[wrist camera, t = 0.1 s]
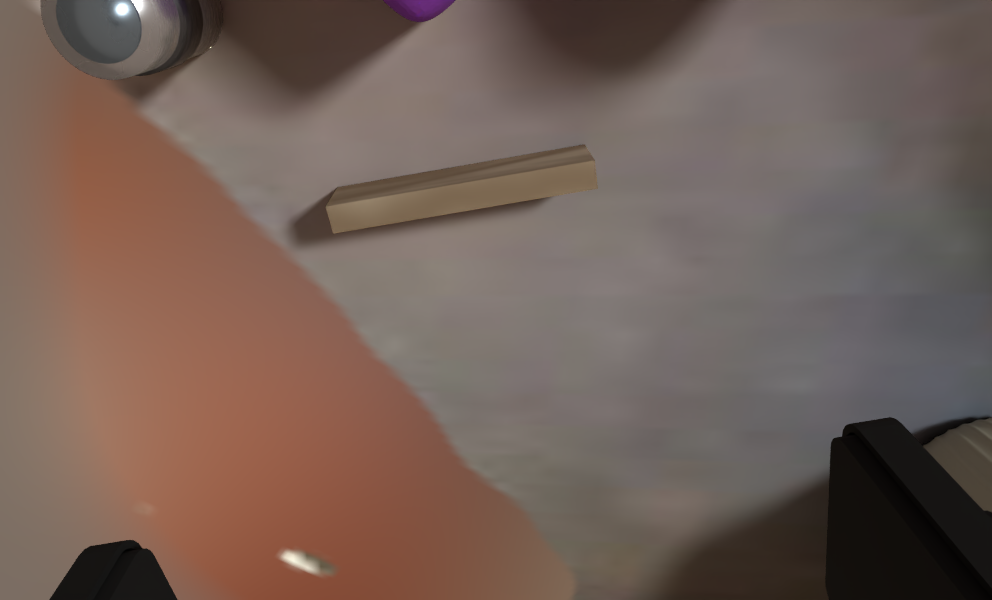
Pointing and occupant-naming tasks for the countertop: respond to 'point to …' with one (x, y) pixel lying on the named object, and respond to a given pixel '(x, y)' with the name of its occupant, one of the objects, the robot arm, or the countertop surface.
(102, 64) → the lens
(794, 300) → the countertop surface
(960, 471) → the canister
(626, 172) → the countertop surface
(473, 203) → the rail
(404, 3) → the toy camera
